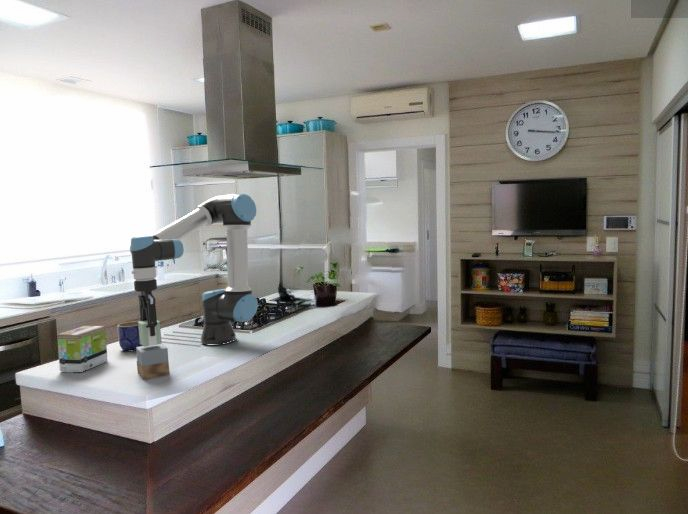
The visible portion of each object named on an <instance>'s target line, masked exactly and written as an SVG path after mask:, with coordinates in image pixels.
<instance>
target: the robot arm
mask: <svg viewBox="0 0 688 514" xmlns="http://www.w3.org/2000/svg"><path fill="white" fill-rule="evenodd" d="M256 216H257V205H256V203H255V201H254V200H253V199H252V197H251V196H250V195H248V194H245V193H231V194H220V195H216V196H214V197H211V198H209V199H208V200H206V201H204V202H202V203H201V204H199V205H197V206H196V207H195V208H194V210H193V211H192V212H189V213H188V214H186V215H184V216H183V217H180V218H178V219H177V220H175V221H174V222H172V223H170V224H168V225H166V226H165V227H163V228H161V229H158V231H156V232H154V233H153V234H151V235H138V236H133V237H131V238H130V246H129V251H130V254H131V261H132V263H131V265H132V271H131V274H132V275H133V279H134V282H133V286H134V287H133V288H134V291H135V292H140V294H138V295H137V297H138V301H139V302H138V303H139V304H138V305H139V307H138V308H139V317H140V319H139V321H147V322H148V326H146V328H147V331H148V343H149V346H150V345H156V344H157V337H156V325H157V320H158V317H157V308H156V307H157V306H156V298H155V297H154V295H153V293H152V292H153V291H155V290H157V289H158V284H157V279H156V277H157V269H156V268H157V267H156V262H158V261H159V262H160V261H161V262H162V261H168V260H176V259H180V258H181V257H183V255H184V251H185V250H184V244H183V242H182V241H181V240H183V239H184V238H187V237H188V236H189V235H192V234H193V233H195V232H196V231H198V230H200V229H202V228H203V227H209V226H211V225H213V224H216V223H222V226H223V228H225V230H226V252H227V253H226V258H227V260H226V261H227V263H226V265H227V266H226V267H227V269H226V270H227V286H226V287H225V288H219V289H215V290H210V291H209V290H208V291H205V292H203V293H202V294H201V295H202V296H201V303H202V305H201V306H202V316H203V317H202V318H203V327H202V332H201V336H200V342H201V343H202V345H203V344H223V343H227V342H230V341H233V340H235V339H236V340H237V336H236V333H235V330H234V327H233V326H232V322H231V321H234V322H235V321H236V322H238V323H239V322H240V323H241V322H249V321H250V320H252V319H253V318H254V316H255V315H256V313H257V310H258V305H259V303H258V299H257V298H256V296H255V295H254V294H253V289H252V288H251V287H250V286H249V262H248V260H249V259H248V258H249V256H248V254H249V253H248V249H249V247H248V246H249V245H248V229H249V228H251V226H252V221H253V220H254V219H255V217H256ZM152 322H153V323H152ZM236 340H235V341H236ZM201 343H200V344H201ZM223 345H224V344H223Z"/></svg>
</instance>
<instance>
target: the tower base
mask: <svg viewBox="0 0 688 514" xmlns="http://www.w3.org/2000/svg"><path fill="white" fill-rule="evenodd" d="M136 370H137V374H139V375H138V376H139V377H140V378H141V379H142V380H143V381H145V380H150V379H156V378H160V377H164V376H170V362H163V363H158V364H153V365H148V366H141V365H140V363H139V362H138V361H137V360H136Z"/></svg>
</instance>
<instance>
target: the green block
mask: <svg viewBox="0 0 688 514" xmlns="http://www.w3.org/2000/svg"><path fill="white" fill-rule="evenodd" d="M152 323H153V322H152ZM138 326H139V337H140V344H141V345H143V346H144V347H146V346H149V343H148V331H147V328H146V326H148V322H147V321H141V322H138ZM156 337H157V344H163V342H162V332H161V322H160V320H158V319H157V325H156ZM157 344H156V345H157ZM150 346H152V345H150Z"/></svg>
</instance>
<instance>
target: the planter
mask: <svg viewBox="0 0 688 514" xmlns="http://www.w3.org/2000/svg"><path fill="white" fill-rule="evenodd" d="M138 322H141V321H140V320H135V321H134V320H133V321H127V322H126V321H125V322H121V323H119V324H117V325H116V329H117V338H118V344H119V347H120V348H121V350H122V351H126V352H134V351H136V347H141V346H143V345H141V344H140V337H139V326H138Z"/></svg>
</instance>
